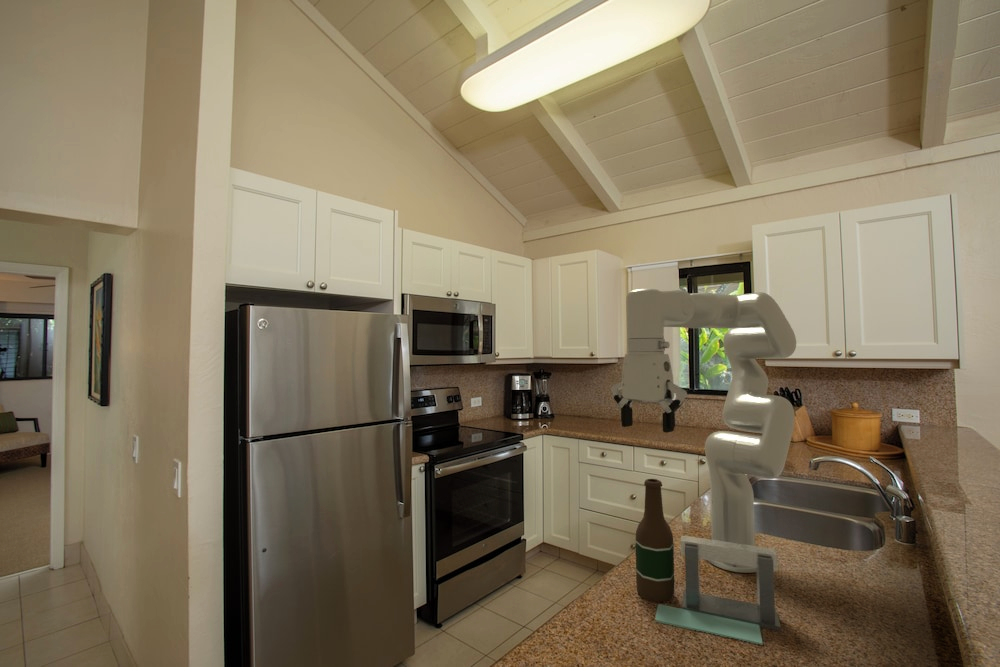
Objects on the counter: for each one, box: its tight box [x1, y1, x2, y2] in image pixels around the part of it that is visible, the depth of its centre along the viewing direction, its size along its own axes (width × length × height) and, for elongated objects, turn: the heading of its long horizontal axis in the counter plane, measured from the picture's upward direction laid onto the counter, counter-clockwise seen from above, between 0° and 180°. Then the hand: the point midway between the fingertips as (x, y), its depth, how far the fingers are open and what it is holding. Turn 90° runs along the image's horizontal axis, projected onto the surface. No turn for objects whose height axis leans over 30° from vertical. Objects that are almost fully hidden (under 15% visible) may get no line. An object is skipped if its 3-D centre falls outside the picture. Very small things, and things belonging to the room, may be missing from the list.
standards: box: [681, 545, 782, 632], centre depth 91 cm, size 7×17×12 cm, turn 66°
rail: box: [680, 535, 779, 572], centre depth 92 cm, size 3×17×3 cm, turn 66°
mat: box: [654, 603, 763, 646], centre depth 87 cm, size 6×18×1 cm, turn 66°
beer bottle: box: [635, 478, 675, 604], centre depth 99 cm, size 8×8×24 cm
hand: (647, 428), depth 97 cm, fingers open, 9 cm apart
